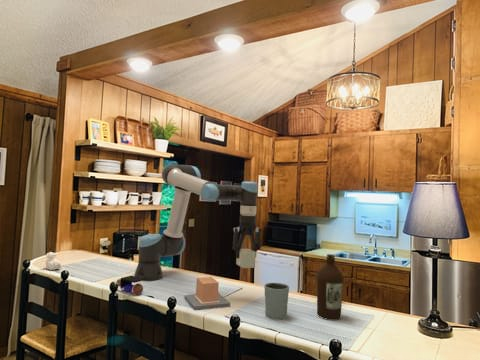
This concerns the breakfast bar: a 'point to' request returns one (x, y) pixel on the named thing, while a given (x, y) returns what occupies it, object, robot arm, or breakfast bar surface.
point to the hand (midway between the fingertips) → (245, 264)
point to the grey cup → (276, 300)
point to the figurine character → (127, 284)
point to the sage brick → (247, 258)
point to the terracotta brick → (207, 289)
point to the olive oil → (329, 290)
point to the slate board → (198, 305)
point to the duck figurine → (52, 262)
